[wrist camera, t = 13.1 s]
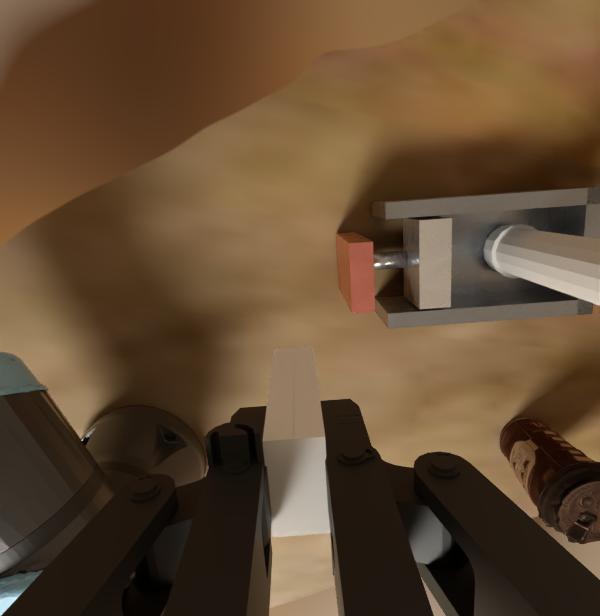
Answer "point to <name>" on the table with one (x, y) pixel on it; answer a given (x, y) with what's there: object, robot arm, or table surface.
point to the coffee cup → (555, 478)
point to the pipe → (547, 259)
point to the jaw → (399, 264)
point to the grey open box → (470, 254)
